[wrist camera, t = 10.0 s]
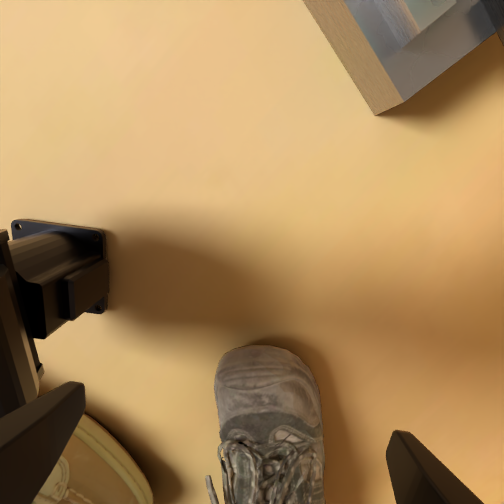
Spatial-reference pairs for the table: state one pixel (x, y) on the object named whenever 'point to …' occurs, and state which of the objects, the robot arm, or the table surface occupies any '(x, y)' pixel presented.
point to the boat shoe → (95, 471)
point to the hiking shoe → (268, 428)
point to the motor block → (403, 40)
